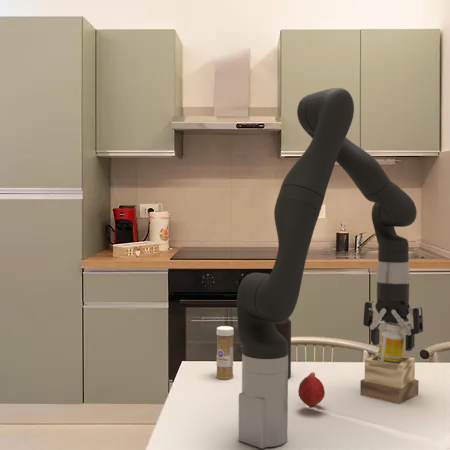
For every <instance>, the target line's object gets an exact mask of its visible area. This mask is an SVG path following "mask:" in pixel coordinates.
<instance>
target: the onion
mask: <svg viewBox="0 0 450 450" xmlns="http://www.w3.org/2000/svg"><path fill="white" fill-rule="evenodd" d="M325 395H326V391H325V387H324V384H323V382H322V380H320V379H319V378H317V377H316V373H315V372H313V371H312V372H310V373H309V375H307V376H305V377H304V378H303V379H302V381H301V382H300V383H299V386H298V396H299V400H301V402H303V403H304V404H305V405H307V407H308V408H312V409H313V408H315V407H317V405H318V404H319V403H321V402H322V401H323V399H324V398H325Z"/></svg>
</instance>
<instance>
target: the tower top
mask: <svg viewBox="0 0 450 450" xmlns="http://www.w3.org/2000/svg"><path fill="white" fill-rule="evenodd" d="M378 356H379V352H378V353H376V354H374V355H372V356H370V357H368V358H366V359H364V379H365V382H371V383H376V384H381V385H386V386H392V387H397V388H403V387H404V386H406V385H407V384H409V383H410V382H411V381H413V380H414V379H415V378H416V377H415V376H416V375H415V373H416V371H415V369H416V363H415V362H416V358H415V357H409V356H404V355H402V359H401V364H394V363H388V362H382V361H378ZM415 380H416V379H415Z"/></svg>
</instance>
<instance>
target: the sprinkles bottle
mask: <svg viewBox="0 0 450 450" xmlns="http://www.w3.org/2000/svg"><path fill="white" fill-rule="evenodd" d="M234 330H235V329H234V327H232V326H227V325H221V326H217V327H216V339H217V340H216V376H215V377H216V378H217V380H223V381H225V380H226V381H227V380H231V379H233V378H234V374H233V372H234V333H235V331H234Z"/></svg>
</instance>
